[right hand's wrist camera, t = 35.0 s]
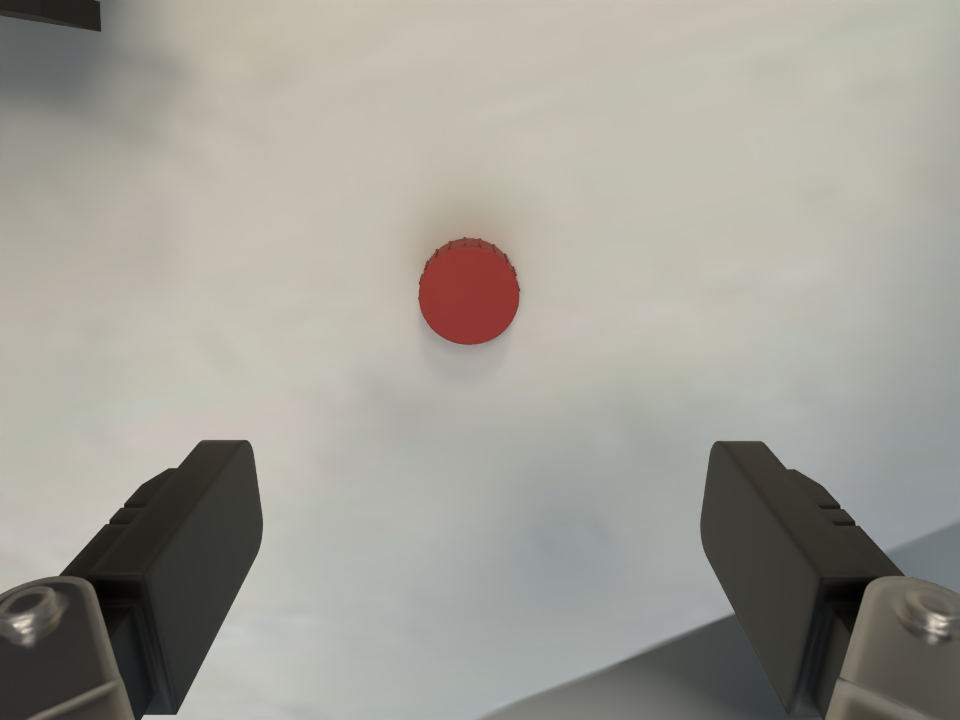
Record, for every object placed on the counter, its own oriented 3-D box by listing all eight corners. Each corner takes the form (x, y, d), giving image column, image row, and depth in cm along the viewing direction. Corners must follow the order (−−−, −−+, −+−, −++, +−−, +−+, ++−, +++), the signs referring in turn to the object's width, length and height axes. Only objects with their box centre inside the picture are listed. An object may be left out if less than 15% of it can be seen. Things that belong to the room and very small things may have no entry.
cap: (484, 218, 25) (485, 225, 24) (533, 299, 27) (539, 312, 25) (402, 269, 26) (397, 281, 24) (454, 346, 27) (453, 363, 25)
